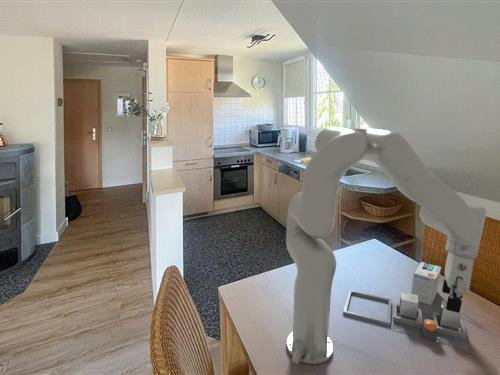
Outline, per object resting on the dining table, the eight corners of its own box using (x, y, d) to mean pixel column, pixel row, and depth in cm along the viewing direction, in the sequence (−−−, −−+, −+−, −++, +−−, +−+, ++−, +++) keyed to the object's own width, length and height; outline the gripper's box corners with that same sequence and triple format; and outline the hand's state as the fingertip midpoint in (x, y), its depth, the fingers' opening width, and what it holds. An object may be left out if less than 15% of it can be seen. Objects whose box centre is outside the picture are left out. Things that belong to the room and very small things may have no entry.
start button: (436, 333, 88) (437, 328, 88) (423, 329, 90) (424, 324, 89) (435, 326, 91) (436, 321, 91) (423, 323, 93) (423, 318, 92)
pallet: (468, 353, 86) (471, 342, 85) (391, 333, 94) (393, 323, 93) (461, 324, 97) (462, 314, 96) (393, 308, 105) (394, 299, 104)
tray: (389, 329, 95) (390, 323, 95) (342, 317, 101) (343, 311, 100) (390, 304, 107) (391, 299, 107) (349, 294, 113) (349, 289, 112)
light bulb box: (416, 287, 117) (420, 260, 115) (437, 294, 113) (441, 266, 110) (409, 301, 109) (413, 272, 107) (431, 308, 105) (436, 279, 102)
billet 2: (457, 334, 92) (461, 313, 90) (438, 329, 94) (442, 308, 92) (455, 324, 96) (459, 304, 94) (437, 320, 98) (440, 300, 96)
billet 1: (415, 323, 96) (418, 303, 94) (398, 319, 98) (400, 299, 96) (414, 315, 100) (417, 295, 98) (398, 311, 102) (400, 291, 100)
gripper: (485, 263, 79) (471, 322, 83) (471, 238, 94) (460, 290, 98) (450, 256, 82) (438, 314, 86) (442, 233, 97) (432, 284, 101)
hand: (450, 301), depth 92 cm, fingers open, 9 cm apart
